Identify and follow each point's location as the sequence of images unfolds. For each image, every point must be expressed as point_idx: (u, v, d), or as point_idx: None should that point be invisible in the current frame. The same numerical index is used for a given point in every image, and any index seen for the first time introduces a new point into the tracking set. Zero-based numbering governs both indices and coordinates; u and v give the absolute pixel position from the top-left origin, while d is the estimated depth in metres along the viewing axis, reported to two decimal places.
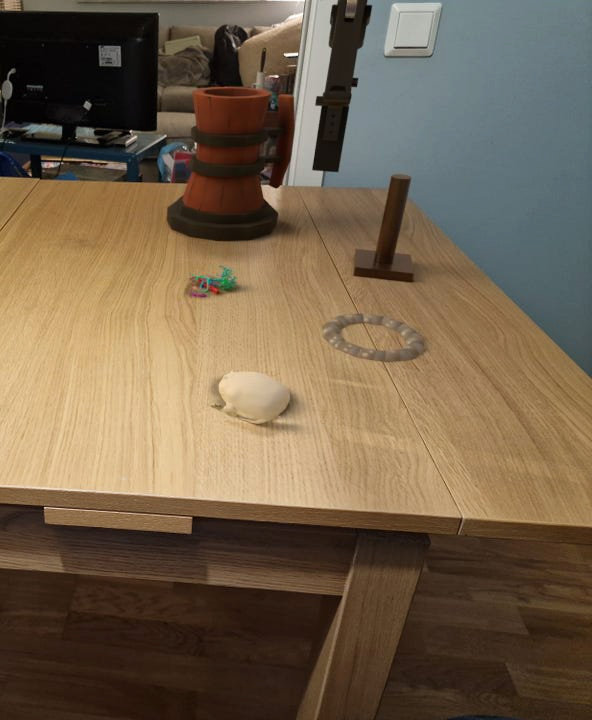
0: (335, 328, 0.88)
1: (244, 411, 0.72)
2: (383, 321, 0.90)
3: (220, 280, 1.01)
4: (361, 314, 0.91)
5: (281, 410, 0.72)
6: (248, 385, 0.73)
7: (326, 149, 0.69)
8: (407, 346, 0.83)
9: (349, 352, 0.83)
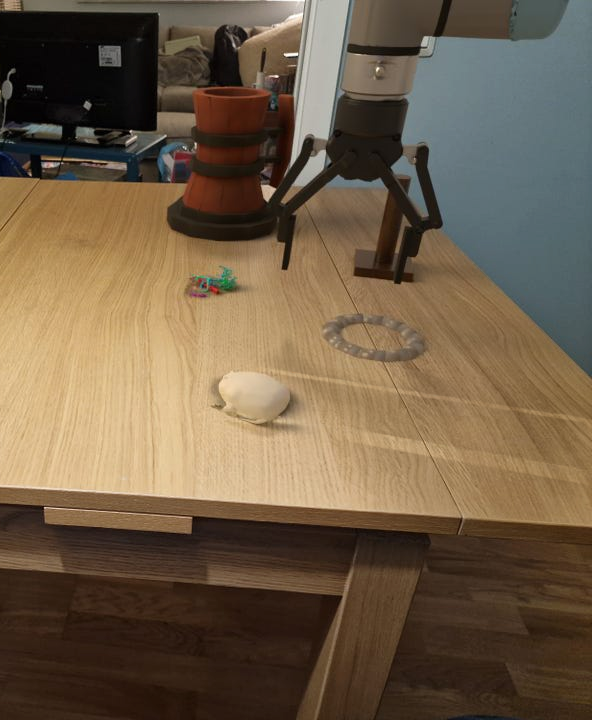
0: (335, 328, 0.88)
1: (244, 411, 0.72)
2: (383, 321, 0.90)
3: (220, 280, 1.01)
4: (361, 314, 0.91)
5: (281, 410, 0.72)
6: (248, 385, 0.73)
7: None
8: (407, 346, 0.83)
9: (349, 352, 0.83)
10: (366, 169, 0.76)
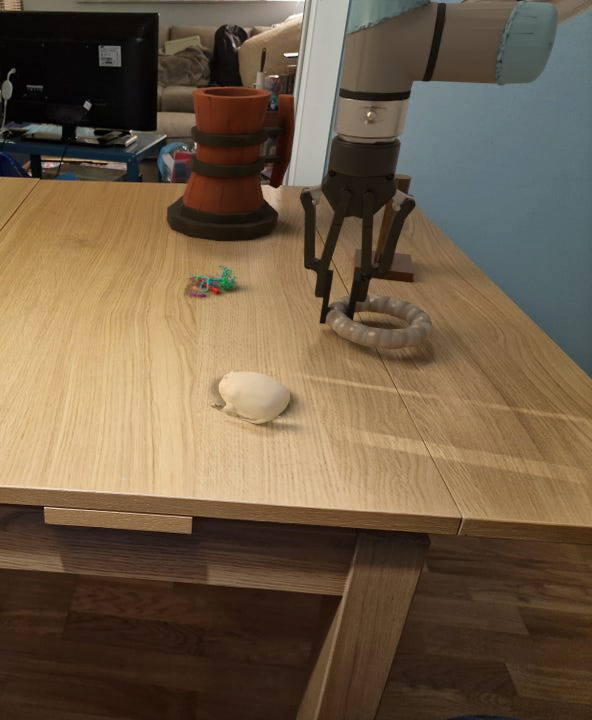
0: (341, 308, 0.86)
1: (244, 411, 0.72)
2: (389, 302, 0.88)
3: (220, 280, 1.01)
4: (367, 294, 0.89)
5: (281, 410, 0.72)
6: (248, 385, 0.73)
7: None
8: (414, 325, 0.81)
9: (355, 331, 0.81)
10: (361, 207, 0.78)
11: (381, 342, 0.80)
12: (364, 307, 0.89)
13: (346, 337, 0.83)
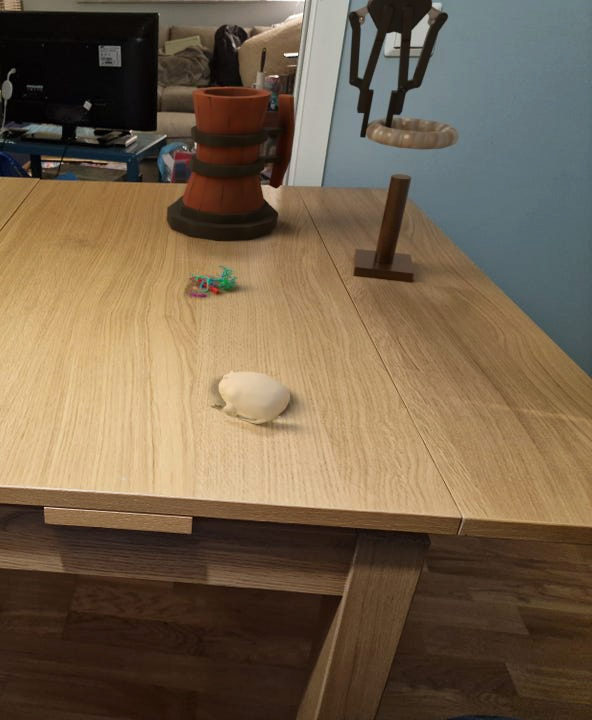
0: (379, 123, 1.00)
1: (244, 411, 0.72)
2: (420, 122, 1.02)
3: (220, 280, 1.01)
4: (400, 118, 1.04)
5: (281, 410, 0.72)
6: (248, 385, 0.73)
7: None
8: (443, 130, 0.96)
9: (393, 134, 0.95)
10: (401, 22, 0.92)
11: (415, 141, 0.94)
12: (398, 127, 1.03)
13: (385, 141, 0.97)
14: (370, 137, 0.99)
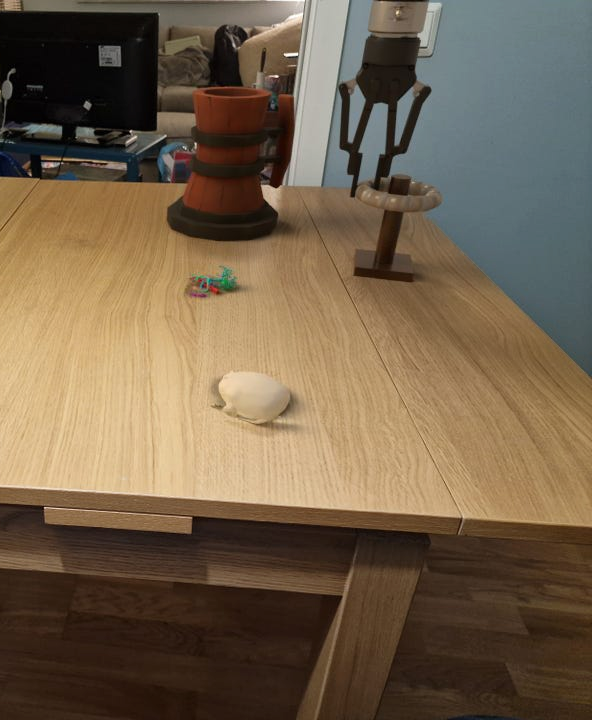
0: (368, 184, 1.06)
1: (244, 411, 0.72)
2: None
3: (220, 280, 1.01)
4: (388, 177, 1.09)
5: (281, 410, 0.72)
6: (248, 385, 0.73)
7: None
8: (428, 194, 1.02)
9: (380, 198, 1.01)
10: (387, 94, 0.98)
11: (401, 205, 1.00)
12: (386, 187, 1.09)
13: (372, 204, 1.02)
14: (359, 198, 1.05)
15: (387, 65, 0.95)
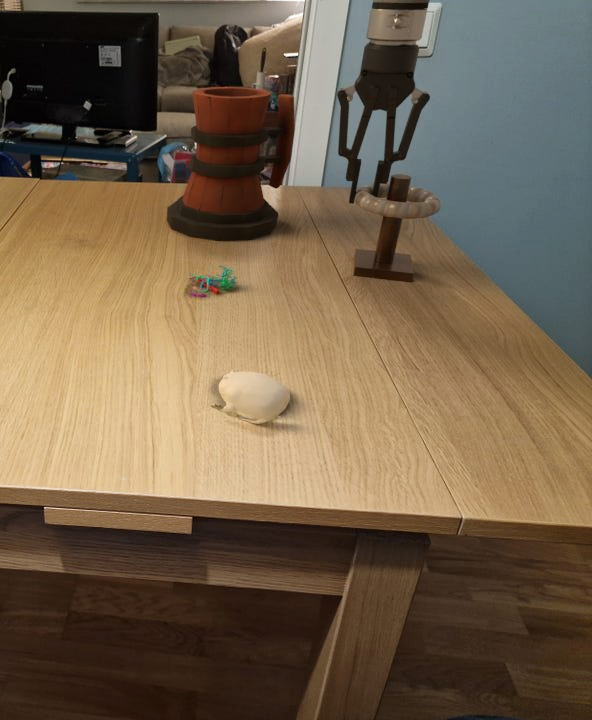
0: (367, 190, 1.06)
1: (244, 411, 0.72)
2: None
3: (220, 280, 1.01)
4: (387, 183, 1.10)
5: (281, 410, 0.72)
6: (248, 385, 0.73)
7: None
8: (426, 201, 1.02)
9: (379, 204, 1.02)
10: (386, 101, 0.99)
11: (400, 212, 1.01)
12: (385, 193, 1.09)
13: (371, 210, 1.03)
14: (358, 204, 1.06)
15: (386, 72, 0.95)
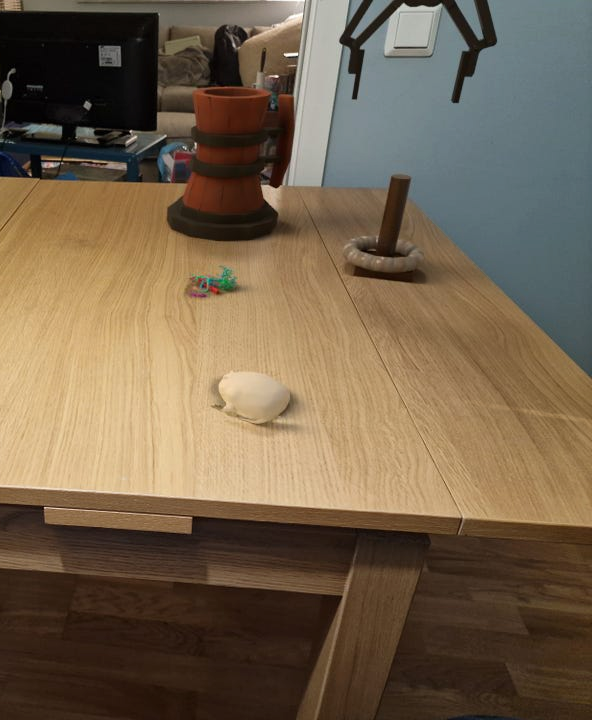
0: (354, 244, 1.11)
1: (244, 411, 0.72)
2: None
3: (220, 280, 1.01)
4: (374, 236, 1.14)
5: (281, 410, 0.72)
6: (248, 385, 0.73)
7: None
8: (411, 255, 1.07)
9: (366, 259, 1.06)
10: None
11: (385, 267, 1.05)
12: (371, 245, 1.14)
13: (358, 264, 1.08)
14: (346, 258, 1.10)
15: None
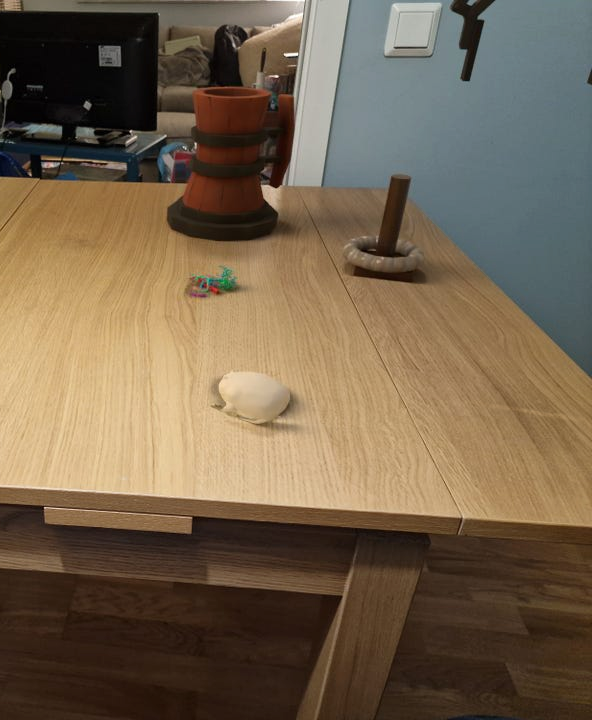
0: (354, 244, 1.11)
1: (244, 411, 0.72)
2: None
3: (220, 280, 1.01)
4: (374, 236, 1.14)
5: (281, 410, 0.72)
6: (248, 385, 0.73)
7: None
8: (411, 255, 1.07)
9: (366, 259, 1.06)
10: None
11: (385, 267, 1.05)
12: (371, 245, 1.14)
13: (358, 264, 1.08)
14: (346, 258, 1.10)
15: None
